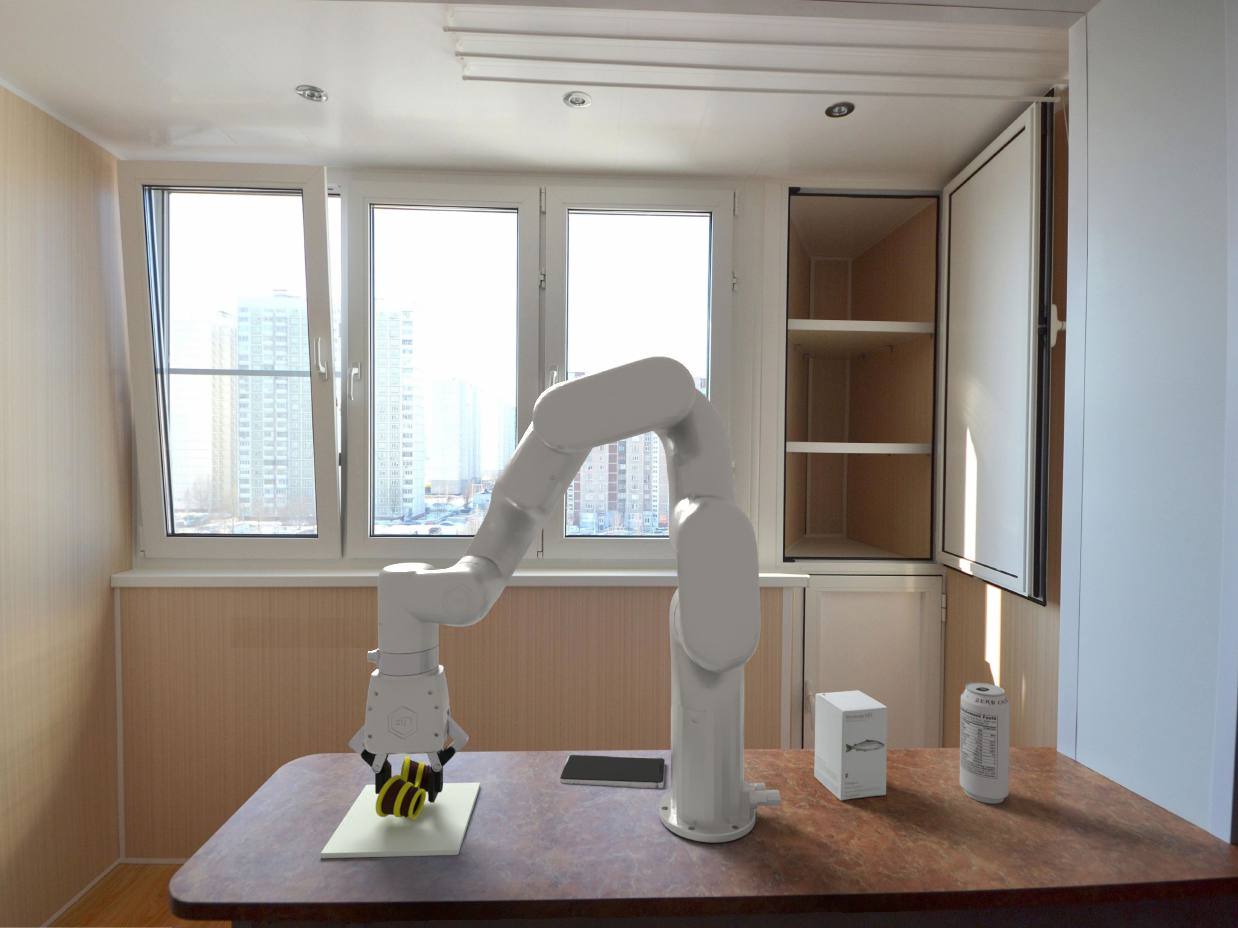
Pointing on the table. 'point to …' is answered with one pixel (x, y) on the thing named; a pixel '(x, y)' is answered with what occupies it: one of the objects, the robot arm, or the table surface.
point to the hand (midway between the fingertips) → (409, 796)
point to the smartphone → (614, 771)
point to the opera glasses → (404, 791)
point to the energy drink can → (984, 742)
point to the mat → (405, 826)
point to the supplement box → (850, 744)
